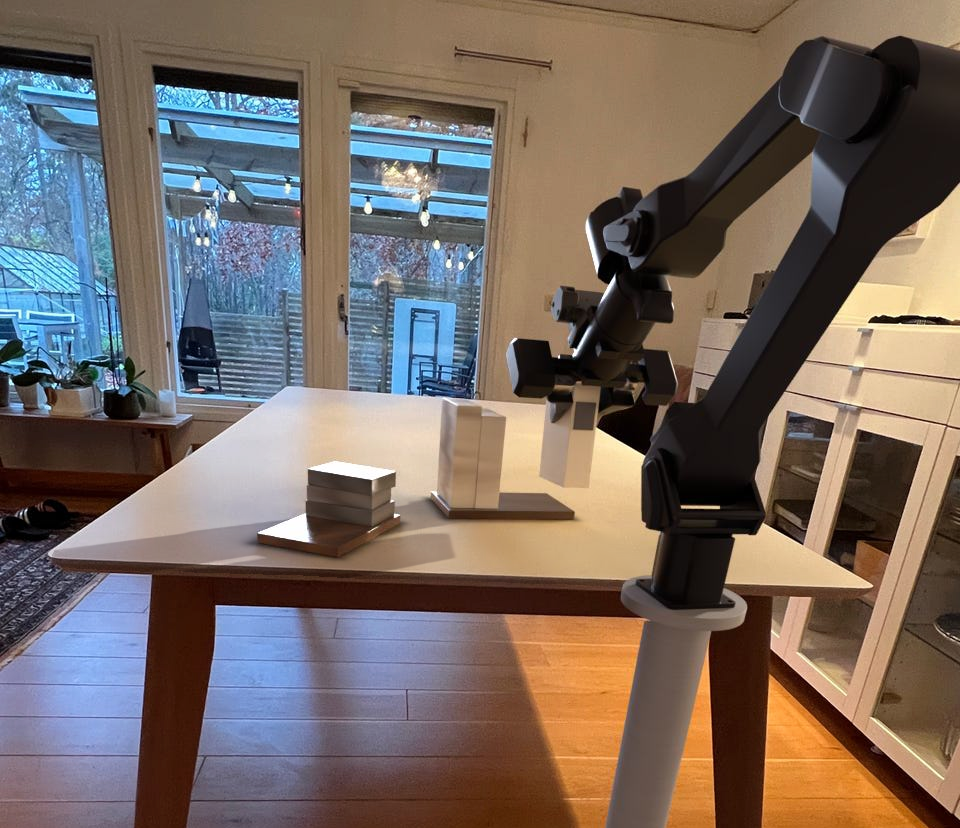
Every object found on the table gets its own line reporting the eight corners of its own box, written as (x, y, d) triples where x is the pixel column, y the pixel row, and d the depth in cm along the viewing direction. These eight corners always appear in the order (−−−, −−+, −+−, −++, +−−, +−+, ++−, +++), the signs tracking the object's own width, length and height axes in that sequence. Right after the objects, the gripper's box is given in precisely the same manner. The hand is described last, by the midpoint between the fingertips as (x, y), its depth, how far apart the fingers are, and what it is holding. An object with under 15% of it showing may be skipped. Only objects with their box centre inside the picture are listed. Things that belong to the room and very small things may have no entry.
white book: (589, 488, 83) (602, 379, 79) (564, 488, 83) (576, 377, 78) (562, 477, 91) (573, 376, 86) (539, 476, 90) (548, 374, 86)
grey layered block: (400, 523, 83) (402, 470, 80) (338, 557, 70) (338, 495, 67) (330, 511, 85) (330, 459, 83) (257, 542, 72) (254, 481, 69)
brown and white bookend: (574, 519, 91) (588, 413, 86) (448, 518, 87) (455, 406, 81) (545, 500, 100) (557, 403, 95) (430, 498, 95) (436, 396, 90)
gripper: (685, 270, 77) (622, 371, 91) (521, 250, 71) (481, 360, 85) (710, 353, 73) (640, 445, 87) (539, 339, 68) (494, 439, 82)
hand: (565, 420), depth 85 cm, fingers closed on white book, 3 cm apart
